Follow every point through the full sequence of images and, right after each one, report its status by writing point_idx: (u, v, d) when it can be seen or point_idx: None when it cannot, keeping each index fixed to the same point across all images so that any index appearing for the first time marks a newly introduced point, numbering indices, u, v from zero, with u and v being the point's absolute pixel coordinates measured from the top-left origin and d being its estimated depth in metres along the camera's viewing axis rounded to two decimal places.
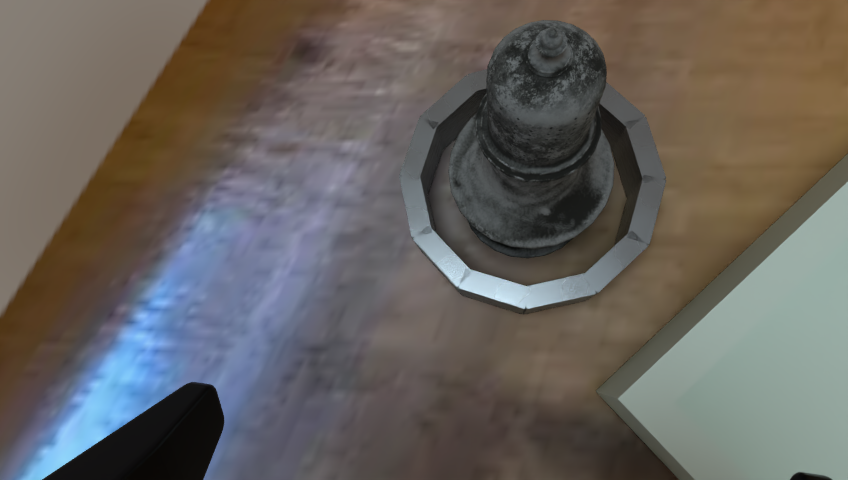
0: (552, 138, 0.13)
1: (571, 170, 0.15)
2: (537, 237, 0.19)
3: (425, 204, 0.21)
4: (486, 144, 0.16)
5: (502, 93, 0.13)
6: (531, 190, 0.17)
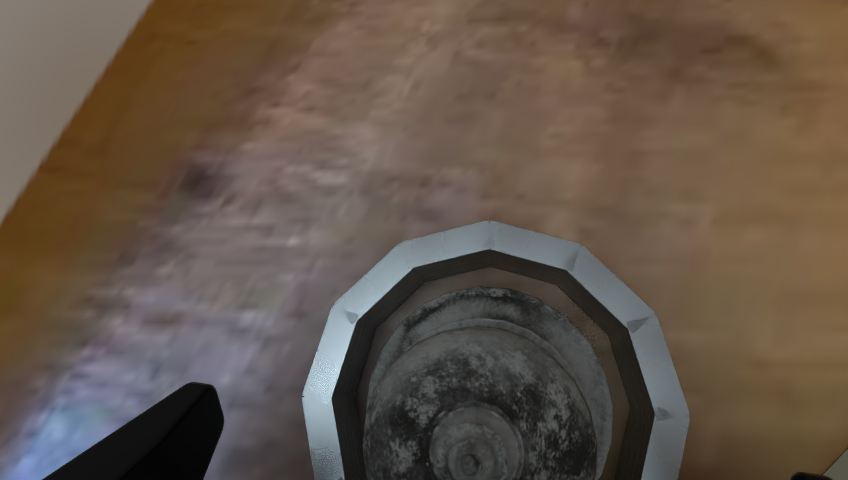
0: None
1: None
2: None
3: (338, 442, 0.14)
4: None
5: None
6: None
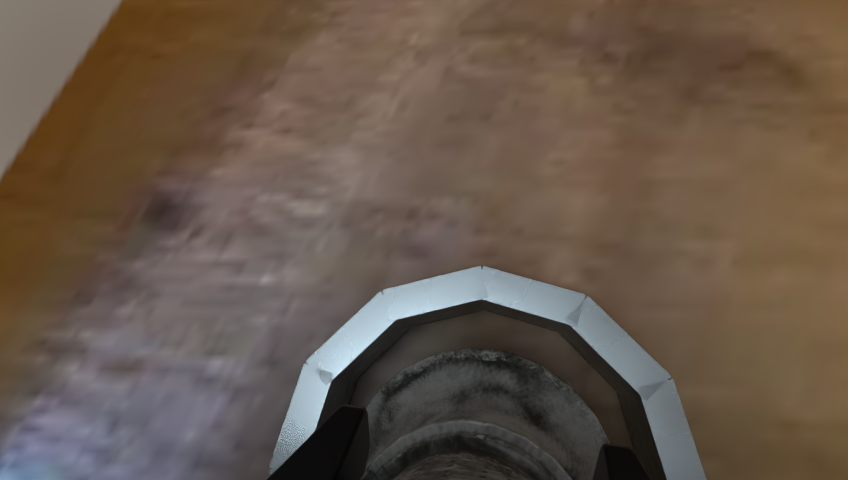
0: None
1: None
2: None
3: None
4: None
5: None
6: None
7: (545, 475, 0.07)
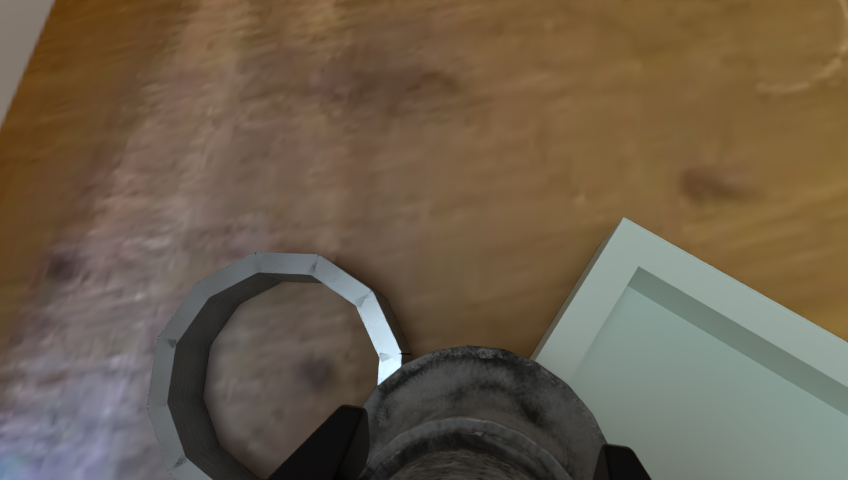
0: None
1: None
2: None
3: (177, 431, 0.20)
4: None
5: None
6: None
7: (543, 471, 0.07)
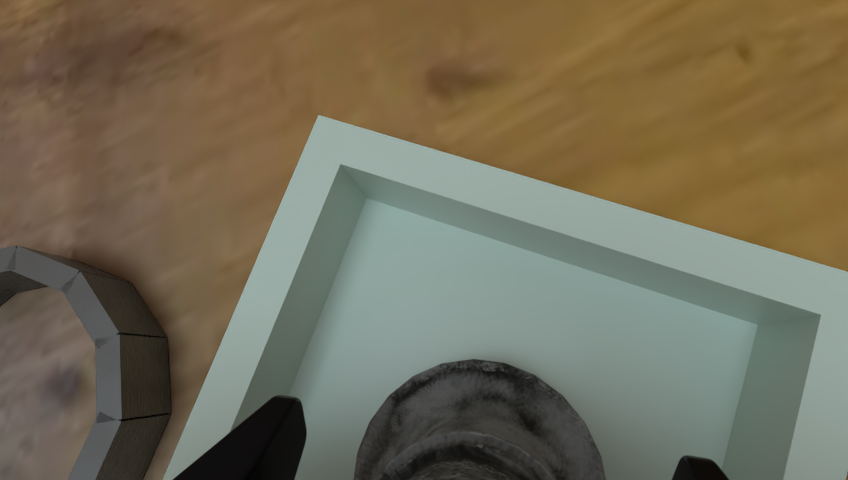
0: None
1: None
2: None
3: None
4: None
5: None
6: None
7: None
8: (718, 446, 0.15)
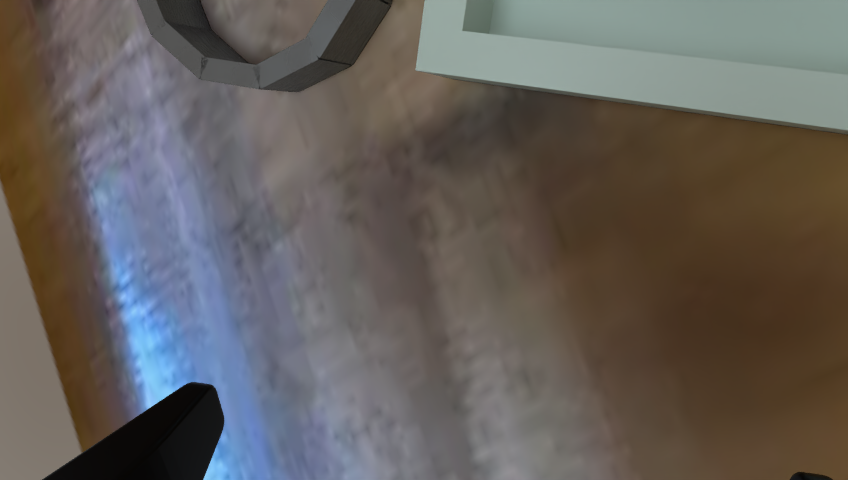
0: None
1: None
2: None
3: (187, 41, 0.20)
4: None
5: None
6: None
7: None
8: None
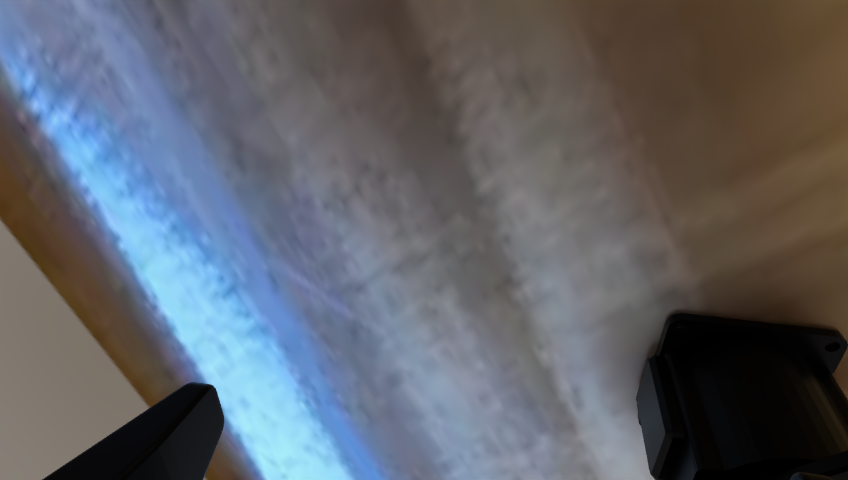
0: None
1: None
2: None
3: None
4: None
5: None
6: None
7: None
8: None
